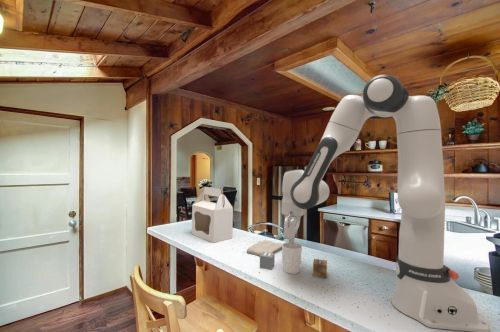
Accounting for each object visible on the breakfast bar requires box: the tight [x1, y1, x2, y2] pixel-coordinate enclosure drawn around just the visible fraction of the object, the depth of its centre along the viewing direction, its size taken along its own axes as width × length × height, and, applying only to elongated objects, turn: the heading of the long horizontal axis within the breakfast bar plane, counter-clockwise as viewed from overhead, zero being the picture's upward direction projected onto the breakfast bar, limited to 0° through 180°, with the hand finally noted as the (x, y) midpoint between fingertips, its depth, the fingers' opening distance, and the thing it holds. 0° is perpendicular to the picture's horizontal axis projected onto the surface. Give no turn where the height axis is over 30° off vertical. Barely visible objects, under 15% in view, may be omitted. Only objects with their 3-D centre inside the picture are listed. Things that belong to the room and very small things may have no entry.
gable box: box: [191, 186, 234, 244], centre depth 141 cm, size 22×13×28 cm, turn 44°
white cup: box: [281, 241, 303, 275], centre depth 98 cm, size 8×8×10 cm
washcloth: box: [246, 239, 283, 257], centre depth 120 cm, size 12×18×3 cm, turn 147°
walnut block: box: [312, 258, 328, 279], centre depth 95 cm, size 5×5×5 cm
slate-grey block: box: [259, 252, 276, 271], centre depth 101 cm, size 5×5×5 cm
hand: (291, 244), depth 98 cm, fingers closed
